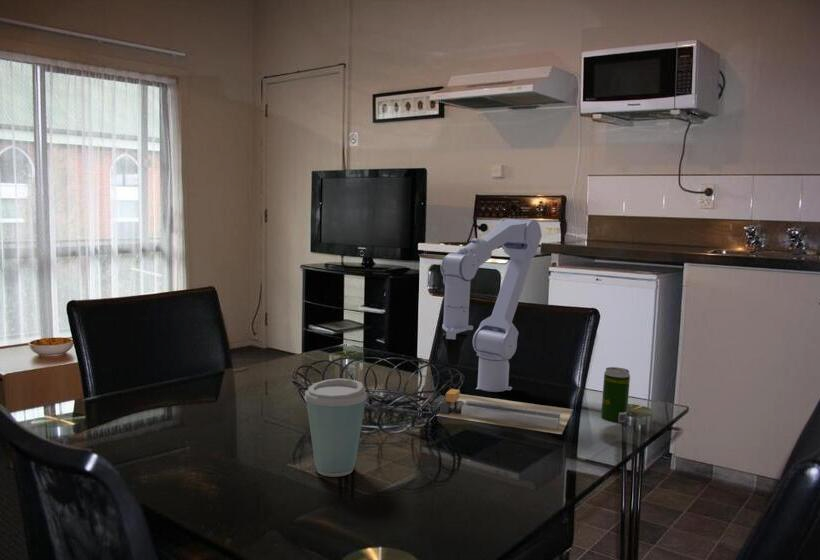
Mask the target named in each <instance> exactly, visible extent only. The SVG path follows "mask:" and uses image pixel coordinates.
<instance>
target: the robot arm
mask: <svg viewBox="0 0 820 560" xmlns="http://www.w3.org/2000/svg"><path fill="white" fill-rule="evenodd" d="M541 229H542V227H541V225H540V223H539V221H538V220H536V219H518V218H517V219H516V218H508V217H504V218H502V219H500V220H499V221H497V222H496V226H495V228H494V229H493V230H491V232H489V233H488V234H487V235H486V236H485V237H484V238H479V237H478V238H475V237H473V238H471V240H470V242H468V243H467V244H466V245H465V246H463V247H460V248H459V250H458V251H457V252H456V253H454V252H450V253H447V255H445V256H444V257H443V259H442V261H441V264H440V267H439V268H440V273H441V276H442V277H443V278H442V283H443V285H444V300H443V319H442V320H443V321H442V325H441V327H442V330H444V331H445V332H443V333H442V334H441V339H442V341H443V343H444V346H445V351H446V357H447V363H448V365H449V366H459V364H460V360H461V357H462V356H461V355H462V351H463V348H464V344H465V342H466V340H467V339H468V337H469V333H467V332H466V331H473V330H474V326H473V325H469V317H470V311H469V310H470V296H471V295H470V294H471V282H472V281H471V280H472V279H474V278H475V276H476V274H477V271H478V270H479V269H480V267H481V266H482V265H483V264H485V263H486V262H487V261H489V260H490V259H491V258H492V254H493V251H495V250H497V249H498V248H500V247H501V248H502V249H503V252H504V254H506V255H507V256H509V262H508V264H507V265H508V266H507V267H506V271H505V274H504V277H503V280H502V283H501V286H500V289H499V291H498V294H497V298H496V301H495V304H494V307H493V310H492V313H491V315H490V316H488V317H487V318H485V319H483V320H482V321H481V322H480V323H479V326H478V328H477V329H476V331H475V332H474V334H473V338H472V348H473V349H474V351H475V352H476V357H478V369H477V371H478V373H477V385H476V386H477V387H476V388H475V390H481V391H485V392H491V393H492V392H493V393H499V392H504V391H511V390H512V389H513V387H512V386H509V377H510V376H509V375H510V362H509V360H510V359H512V357H513V356H514V355H515V353H516V351H517V347H518V336H519V335H520V334H519V331H518V329H517V328H516V326H515V324H514V323H513V321H514V316H515V314H516V311H517V307H518V304H519V301H520V297H521V295H522V293H523V289H524V286H525V283H526V280H527V277H528V273H529V270H530V268H531V264H532V261H533V258H534V257H535V256H536V254H537V251H538V248H539V247H540V243H541V241H542V237H543V236H542V235H543V234H542V230H541Z"/></svg>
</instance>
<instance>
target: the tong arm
mask: <svg viewBox="0 0 820 560" xmlns="http://www.w3.org/2000/svg"><path fill="white" fill-rule="evenodd" d="M463 405H468V406H475V407H482V408H489V409H496V410H503V411H510V412H517V413H524V414H531V415H538V416H545V417H552V418H559V419H558V424H559V423H560V416H561V413H558V412H551V411H543V410H535V409H528V408H520V407H513V406H505V405H498V404H490V403H483V402H475V401H468V400H467V401H466V402H463V401H456V402H454V412H457V413H461V408H462V406H463Z"/></svg>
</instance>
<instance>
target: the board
mask: <svg viewBox="0 0 820 560" xmlns="http://www.w3.org/2000/svg"><path fill="white" fill-rule="evenodd" d="M467 400H468V401H475V402H483V403H490V404H498V405H505V406H513V407H520V408H528V409H535V410H543V411H551V412H558V413H561V416H560V423H559V424H558V429H557V430H553V429H547V428H540V427H533V426H526V425H520V424H513V423H506V422H499V421H492V420H486V419H479V418H472V417H465V416H461V413H457V412H454V410H453V411H452V412H451V413H450V414H449V415H447V414H440V413H438V414H437V415H436V416H437V417H444V418H450V419H456V420H464V421H471V422H477V423H484V424H490V425H495V426H503V427H511V428H517V429H523V430H530V431H536V432H543V433H549V434H550V433H551V434H557V435H563V433H564V430H565V429H566V426H567V424H568V422H569V420H570V418H571V416H572V413H573V411H574V409H572V408H566V407H559V406H551V405H541V404H535V403H528V402H523V401H522V402H521V401H513V400H507V399H500V398H491V397H485V396H478V395H470V394H462V393H460V396H459V399H458V400H457V401H463V402H466V401H467Z"/></svg>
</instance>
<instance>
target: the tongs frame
mask: <svg viewBox="0 0 820 560" xmlns="http://www.w3.org/2000/svg"><path fill="white" fill-rule="evenodd" d="M444 396H445V395H442V394H440V395H438V397H436V399H434V400H433V401H432V407H433V406H435V405H437V404H438V403H440V401H441V400H442V399H443V398H444ZM445 400H446V398H445ZM445 400H444V401H443V402H442V403H441V404H440V411H439V413H440V414H447V415H449V414H450V413H451V412H452V411H453V410H454V402H447V401H445ZM461 416H465V417H472V418H479V419H486V420H492V421H499V422H506V423H513V424H520V425H526V426H533V427H540V428H547V429H553V430H557V429H558V419H559V418H552V417H545V416H538V415H531V414H524V413H517V412H510V411H503V410H496V409H489V408H482V407H475V406H468V405H463V406H462V408H461Z"/></svg>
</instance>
